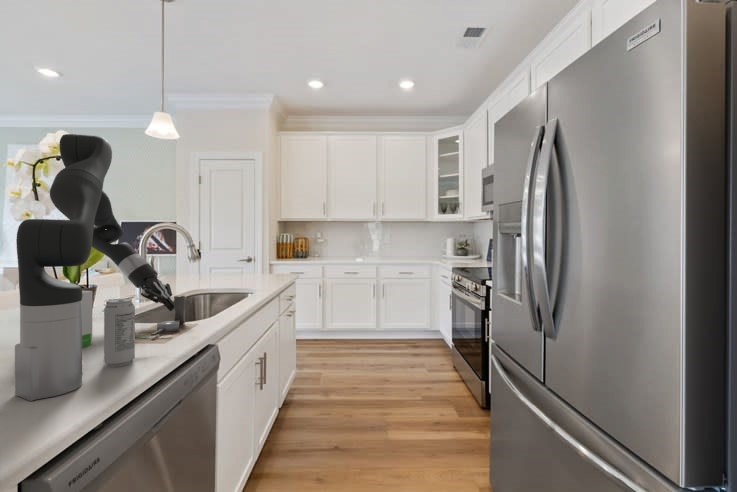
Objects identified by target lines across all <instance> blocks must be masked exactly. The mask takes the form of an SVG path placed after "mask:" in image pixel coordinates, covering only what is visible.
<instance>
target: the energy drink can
mask: <svg viewBox="0 0 737 492" xmlns="http://www.w3.org/2000/svg"><path fill="white" fill-rule="evenodd" d="M103 311H104V312H103V315H104V316H103V318H104V319H103V324H104V325H103V326H104V327H103V328H104V329H103V332H104V333H103V334H104V335H103V339H104V340H103V362H104V364H106V366H107V367H110V368H117V367H124V366H128V365H130V364H131V363H133V360H134V359H135V357H136V356H135V355H136V354H135V352H136V351H135V350H136V343H135V334H136V326H135V325H136V306H135V305H134V303H133V299H131V298H115V299H110V300H109V299H108V300H107V303H106V304H105V307H104V308H103Z"/></svg>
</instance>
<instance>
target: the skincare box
mask: <svg viewBox="0 0 737 492" xmlns="http://www.w3.org/2000/svg"><path fill="white" fill-rule="evenodd" d="M93 293H94V292H93V290H82V348H86V347H88V346H91V345H93Z"/></svg>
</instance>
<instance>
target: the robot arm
mask: <svg viewBox="0 0 737 492" xmlns="http://www.w3.org/2000/svg"><path fill="white" fill-rule="evenodd" d="M58 144H59V145H58V147H59V154H60V157H61V161H62V164H63V165H64V166H63V168H62V169H61V170H60V171H59V172H57V174H56V175H55V178H54V180H53V181H52V184H51V186H50V190H49V198H50V200H51V202H52V203H53V206H55V208H56V209H57V210H58V211H59V212H60V213H62V215H63V216H65V217H66V218H67V219H47V218H45V219H43V218H42V219H41V218H28V219H25V220H23V221H22V222H21V223H20V224H19V225H18V228H17V230H16V231H17V232H16V242H15V243H16V256H17V265H18V266H17V267H18V268H17V269H18V270H17V271H18V290H19V343H17V344H15V345H14V395H15V396H18V397H20V398H23V399H26V400H27V401H29V402H30V401H31V402H32V401H36V400H39V399H46V398H51V397H57V396H60V395H64V394H66V393H70V392H73V391H74V390H77V389H78V388H80V387H81V386H82V385H83V375H84V374H83V347H82V291H83V289H82V286H80V285H78V284H75V283H71V282H68V281H63V280H60V279H57V278H56V277H53V276H52V275H50V274H48V272H46V269H45V268H63V267H64V268H65V267H66V268H67V267H70V268H71V267H78V266H82V265H84V264H85V263H87V261H88V260H89V258H90V255H91V251H92V248H93V249H94V250H95V251H96V250H97V251H98V252H100V253H101V254H103V255H105V257H107V258H109V259H110V260H111V261H112V262H113V263H114V264H115V265H116V266H117V267H118V269H120V271H121V272H122V274H123V275H124V276H125V278H127V279H128V280H129V282H131V284H132V285H133V286H134V287H135V288H136V289H141V290H142V291H141V292H140V295H141V296H142V297H144V298H145V299H148V300H150V301H151V302H154V303H156V304H158V303H160V304H163V306H164V307H166V309H167V310H168V311H169V312H172V311H174V300H172V299H171V298H172V296H173V291H172V287H171V285H170V284H169V283H166V284H164V283H163V282H162V281H161V280H160V279H158V271H156V270H155V269H154V267H153V266H152V265H151V264H150V263H149V262H148V261H147V260H146V259H145V258H144V257H143V256H142V255H141V254H139V253H138V252H137V251H136V250H135V248H134V247H133V246H132V245H131V243H128V242H119V243H115V242H117V241H119V240H120V239H122V237H123V236H124V229H123V228H122V226H121V225H120V224H119V222H118V220H117V219H116V217H115V215H114V212H113V208H112V204H111V203H112V202H111V200H110V198H109V196H108V194H107V193H106V192H105V191H104V190H103V188H104V182H105V177H106V175H107V174H108V171H109V170H110V166H111V163H112V159H113V151H112V146H111V144H110V142H109V141H108V140H107V139H106V138H105V137H103V136H100V135H99V136H98V135H89V134H76V133H74V134H73V133H67V134H65V133H64V134H62V135H61V137H60V139H59V143H58ZM105 229H107V230H105Z"/></svg>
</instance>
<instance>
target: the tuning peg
mask: <svg viewBox="0 0 737 492" xmlns="http://www.w3.org/2000/svg"><path fill="white" fill-rule="evenodd" d="M173 302H174V310H173V320H164V321H160V322H158V323H156V325H157V331H156V332H154V333H152V334H151V336H155V335H157V334H158V333H160V332H171V331H176V330H178V329H179V325H180V324H186V323H185V322H186V295H175V296H173Z"/></svg>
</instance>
